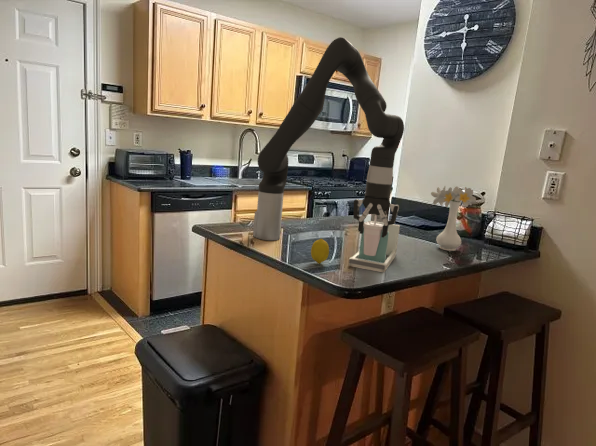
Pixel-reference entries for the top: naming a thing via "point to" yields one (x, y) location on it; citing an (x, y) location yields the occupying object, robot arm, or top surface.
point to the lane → (391, 251)
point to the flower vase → (452, 214)
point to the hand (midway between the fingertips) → (372, 234)
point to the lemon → (320, 251)
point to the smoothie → (372, 236)
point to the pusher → (380, 251)
